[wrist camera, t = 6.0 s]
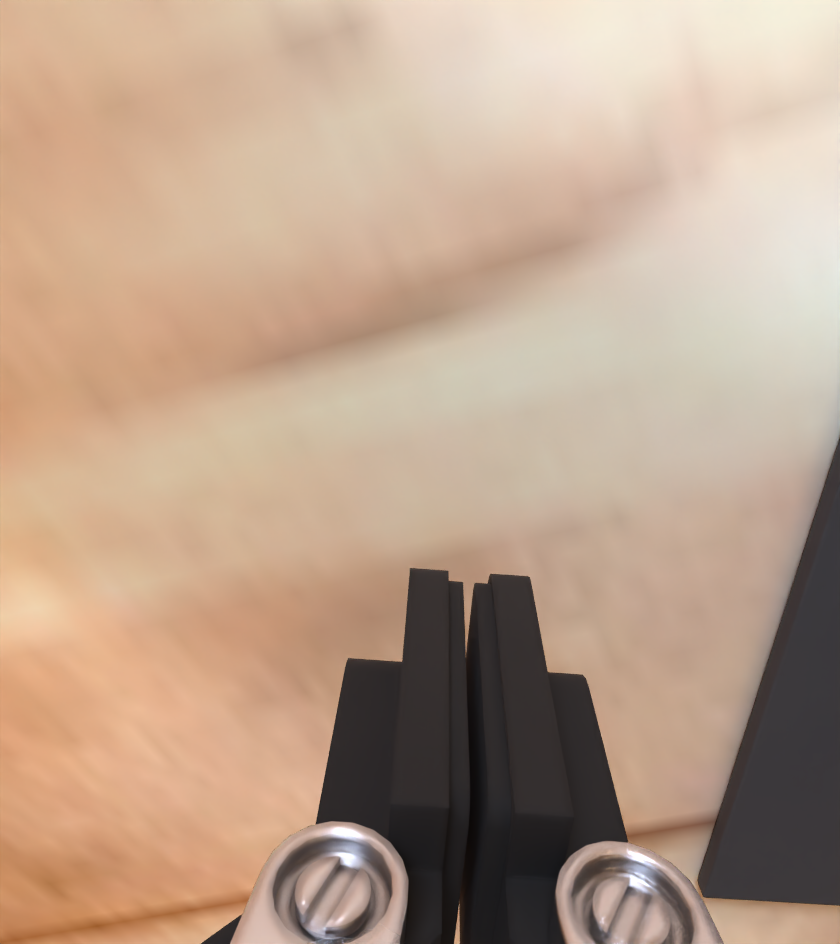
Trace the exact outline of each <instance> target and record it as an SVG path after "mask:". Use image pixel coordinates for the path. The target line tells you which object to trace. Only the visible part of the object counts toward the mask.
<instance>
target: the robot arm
mask: <svg viewBox="0 0 840 944" xmlns="http://www.w3.org/2000/svg"><path fill="white" fill-rule="evenodd" d="M458 906H459V909H460V944H724V943H723V941H722V939H721V937H720V935H719V933H718V931H717V928H716V926H715V924H714V922H713V920H712V918H711V916H710V914H709V912H708V910H707V908H706V906H705V904H704V902H703V900H702V899H701V897H700V896H699V894H698V892H697V891H696V889H695V888H694V886H693V885H692V883H691V882H690V880H689V879H688V878H686V877H685V876H684V875H683V874H682V873H681V872H680V871H679V870H678V869H677V868H676V867H675V866H674V865H673V864H672V863H671V862H669V861H667V860H666V859H664V858H662V857H661V856H659V855H657V854H656V853H654V852H653V851H651V850H649V849H646V848H643V847H640V846H637V845H634V844H631V843H628V840H627V836H626V832H625V828H624V824H623V820H622V816H621V812H620V808H619V805H618V801H617V797H616V793H615V789H614V785H613V781H612V777H611V773H610V769H609V765H608V761H607V757H606V753H605V749H604V745H603V741H602V737H601V733H600V730H599V726H598V722H597V718H596V714H595V710H594V706H593V702H592V698H591V694H590V690H589V686H588V684H587V681H586V678H585V677H584V676H583V675H578V674H564V673H550V672H547V667H546V661H545V656H544V650H543V645H542V639H541V634H540V629H539V623H538V618H537V612H536V607H535V602H534V596H533V591H532V585H531V580H530V577H528V576H515V575H500V574H490V576H489V580H488V584H482V583H475V584H474V589H473V597H472V606H471V615H470V625H469V634H468V643H467V652H466V653H465V624H464V596H463V582H453V581H448V571H443V570H429V569H415V568H410V577H409V589H408V601H407V613H406V625H405V637H404V648H403V660H402V662H394V661H380V660H366V659H352V658H348V660H347V663H346V667H345V672H344V677H343V682H342V688H341V693H340V698H339V704H338V709H337V714H336V720H335V725H334V730H333V735H332V741H331V746H330V751H329V757H328V762H327V767H326V773H325V778H324V783H323V788H322V794H321V799H320V804H319V810H318V815H317V820H316V825H311V826H308V827H306V828H304V829H302V830H300V831H298V832H296V833H294V834H292V835H290V836H289V837H288V838H287V839H285V840H284V841H283V842H282V843H281V844H280V845H279V846H278V847H277V848H275V849H274V850H273V851H272V853H271V855H270V856H269V858H268V860H267V861H266V863H265V865H264V866H263V868H262V869H261V871H260V874H259V876H258V879H257V881H256V883H255V886H254V888H253V890H252V893H251V895H250V898H249V900H248V902H247V905H246V907H245V910H244V912H243V914H242V915H240V916H239V917H237V918H236V919H235V920H233V921H232V922H230V923H229V924H228V925H226V926H225V927H223V928H222V929H221V930H219V931H218V932H216V933H215V934H214V935H212V936H211V937H209V938H208V939H207V940H205V941H204V942H202V943H201V944H454V938H455V930H456V922H457V914H458Z"/></svg>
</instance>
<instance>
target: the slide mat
mask: <svg viewBox="0 0 840 944" xmlns="http://www.w3.org/2000/svg"><path fill="white" fill-rule="evenodd" d="M698 883H699V886H700V889H701V892H702V895H703V897H706V898H722V899H739V900H756V901H772V902H789V903H806V904H822V905H839V906H840V440H839V443H838V446H837V449H836V452H835V455H834V459H833V462H832V465H831V468H830V471H829V474H828V477H827V480H826V483H825V486H824V490H823V493H822V496H821V499H820V502H819V505H818V508H817V511H816V514H815V517H814V521H813V524H812V527H811V530H810V533H809V536H808V539H807V542H806V545H805V548H804V552H803V555H802V558H801V561H800V564H799V567H798V570H797V573H796V576H795V579H794V583H793V586H792V589H791V592H790V595H789V598H788V601H787V604H786V607H785V610H784V614H783V617H782V620H781V623H780V626H779V629H778V632H777V635H776V638H775V641H774V645H773V648H772V651H771V654H770V657H769V660H768V663H767V666H766V669H765V672H764V676H763V679H762V682H761V685H760V688H759V691H758V694H757V697H756V700H755V704H754V707H753V710H752V713H751V716H750V719H749V722H748V725H747V728H746V731H745V735H744V738H743V741H742V744H741V747H740V750H739V753H738V756H737V759H736V762H735V766H734V769H733V772H732V775H731V778H730V781H729V784H728V787H727V790H726V793H725V797H724V800H723V803H722V806H721V809H720V812H719V815H718V818H717V821H716V824H715V828H714V831H713V834H712V837H711V840H710V843H709V846H708V849H707V852H706V855H705V859H704V862H703V865H702V868H701V871H700V874H699V877H698Z"/></svg>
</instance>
